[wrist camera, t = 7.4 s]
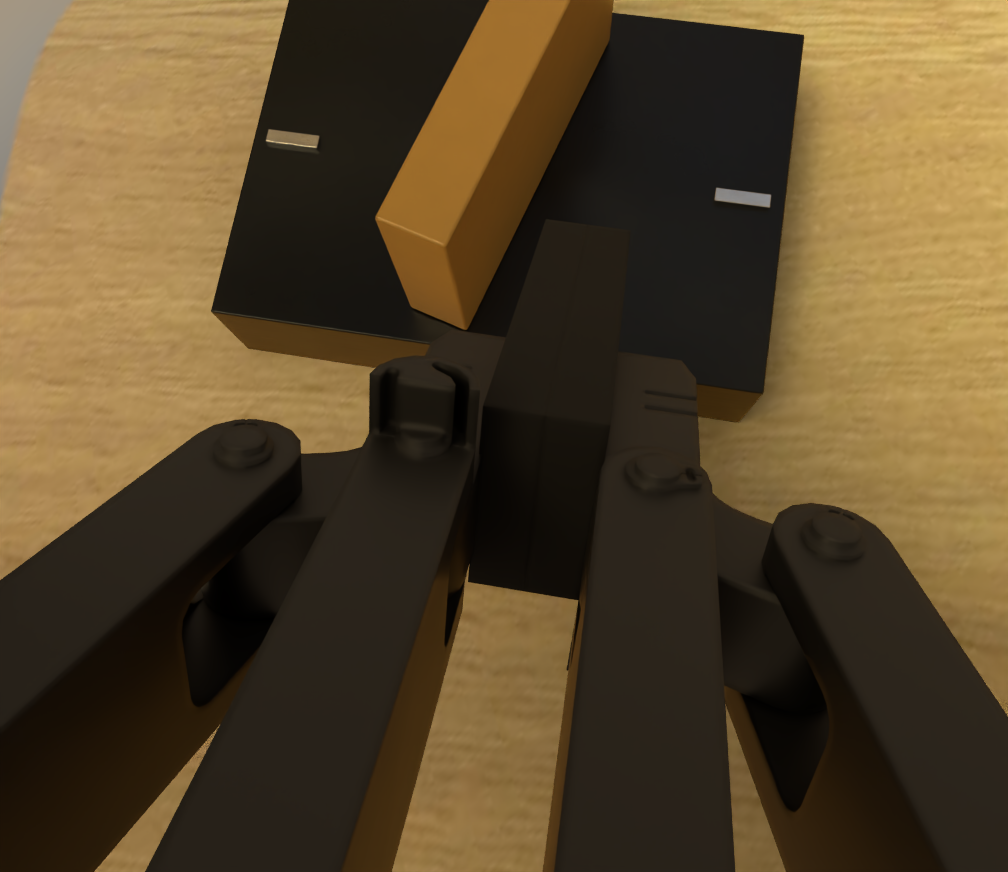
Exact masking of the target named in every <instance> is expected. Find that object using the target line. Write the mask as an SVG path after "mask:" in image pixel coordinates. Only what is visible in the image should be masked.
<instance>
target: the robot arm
mask: <svg viewBox="0 0 1008 872" xmlns="http://www.w3.org/2000/svg"><path fill="white" fill-rule="evenodd" d="M630 234H631V230H624V229H617V228H609V227H602V226H594V225H587V224H579V223H572V222H564V221H557V220H549V219H546V220H545V223H544V226H543V229H542V232H541V235H540V238H539V241H538V244H537V247H536V250H535V253H534V256H533V259H532V262H531V265H530V268H529V271H528V274H527V277H526V280H525V283H524V286H523V288H522V291H521V294H520V297H519V300H518V303H517V306H516V309H515V312H514V315H513V318H512V321H511V324H510V327H509V330H508V333H507V336H506V337H500V336H493V335H486V334H479V333H472V332H465V331H458V330H450V331H449V332H447V333H446V334H444V335H442V336H441V337H439V338H438V339H436V340H435V341H433V342H431V344H430V346H429V348H428V350H427V352H426V354H425V356H417V355H415V356H408V357H401V358H395V359H392V360H390V361H387V362H385V363H382V364H380V365H379V366H378V367H377V368H376V369H374V370H373V371H372V372H371V373H370V406H369V435H368V436H367V438H366V440H365V442H364V444H363V446H362V447H360V448H356V449H353V450H349V451H342V452H332V453H311V454H301V446H300V440H299V439H298V438H297V436H296V435H295V434H294V433H293V431H292V430H290V429H288V428H286V427H284V426H281V425H279V424H277V423H274V422H268V421H263V420H257V419H248V420H245V419H241V420H233V421H229V422H225V423H221V424H217V425H213V426H211V427H209V428H208V429H206V430H204V431H202V432H200V433H198V434H196V435H195V436H194V437H192V438H191V439H190V440H188V441H187V442H186V443H184V444H183V445H182V446H180V447H179V448H178V449H176V450H175V451H174V452H172V453H171V454H170V455H168V456H167V457H166V458H164V459H163V460H161V461H160V462H159V463H157V464H156V465H155V466H153V467H152V468H151V469H149V470H148V471H147V472H145V473H144V474H143V475H141V476H140V477H139V478H137V479H136V480H135V481H133V482H132V483H131V484H129V485H128V486H127V487H125V488H124V489H122V490H121V491H120V492H118V493H117V494H116V495H114V496H113V497H112V498H110V499H109V500H108V501H106V502H105V503H104V504H102V505H101V506H100V507H98V508H97V509H96V510H94V511H93V512H92V513H90V514H89V515H88V516H86V517H85V518H83V519H82V520H81V521H79V522H78V523H77V524H75V525H74V526H73V527H71V528H70V529H69V530H67V531H66V532H65V533H63V534H62V535H61V536H59V537H58V538H57V539H55V540H54V541H53V542H51V543H50V544H49V545H47V546H46V547H45V548H43V549H42V550H40V551H39V552H38V553H36V554H35V555H34V556H32V557H31V558H30V559H28V560H27V561H26V562H24V563H23V564H22V565H20V566H19V567H18V568H16V569H15V570H14V571H12V572H11V573H10V574H8V575H7V576H6V577H4V578H3V579H1V580H0V872H94V871H95V870H96V869H97V867H98V866H99V865H100V864H101V863H102V862H103V860H104V859H105V858H106V857H107V856H108V855H109V853H110V852H111V851H112V850H113V849H114V848H115V846H116V845H117V844H118V843H119V842H120V841H121V839H122V838H123V837H124V836H125V835H126V834H127V832H128V831H129V830H130V829H131V828H132V827H133V825H134V824H135V823H136V822H137V821H138V820H139V818H140V817H141V816H142V815H143V814H144V813H145V811H146V810H147V809H148V808H149V807H150V806H151V804H152V803H153V802H154V801H155V800H156V799H157V797H158V796H159V795H160V794H161V793H162V792H163V790H164V789H165V788H166V787H167V786H168V785H169V783H170V782H171V781H172V780H173V779H174V778H175V776H176V775H177V774H178V773H179V772H180V771H181V769H182V768H183V767H184V766H185V765H186V764H187V762H188V761H189V760H190V759H191V758H192V757H193V755H194V754H195V753H196V752H197V751H198V750H199V748H200V747H201V746H202V745H203V744H204V743H205V741H206V740H207V739H208V738H209V737H210V736H211V734H212V733H213V732H214V731H215V730H216V729H217V727H218V726H219V725H220V726H219V728H218V730H217V732H216V734H215V736H214V738H213V740H212V742H211V744H210V746H209V748H208V750H207V752H206V754H205V756H204V758H203V760H202V762H201V763H200V765H199V767H198V769H197V771H196V773H195V775H194V777H193V779H192V781H191V783H190V785H189V787H188V789H187V791H186V793H185V795H184V797H183V799H182V801H181V803H180V805H179V807H178V809H177V810H176V812H175V814H174V816H173V818H172V820H171V822H170V824H169V826H168V828H167V830H166V832H165V834H164V836H163V838H162V840H161V842H160V844H159V846H158V848H157V850H156V852H155V854H154V856H153V857H152V859H151V861H150V863H149V865H148V867H147V869H146V871H145V872H392V869H393V865H394V861H395V857H396V854H397V850H398V846H399V843H400V839H401V835H402V831H403V828H404V824H405V820H406V817H407V813H408V809H409V805H410V802H411V798H412V794H413V791H414V787H415V783H416V780H417V776H418V772H419V768H420V765H421V761H422V757H423V754H424V750H425V746H426V742H427V739H428V735H429V731H430V728H431V724H432V720H433V716H434V713H435V709H436V705H437V702H438V698H439V694H440V691H441V687H442V683H443V679H444V676H445V672H446V668H447V665H448V661H449V657H450V653H451V650H452V646H453V642H454V639H455V635H456V631H457V627H458V624H459V620H460V616H461V613H462V608H463V596H464V583H465V577H466V574H467V570H468V567H469V577H468V582H472V583H478V584H484V585H490V586H496V587H502V588H508V589H514V590H520V591H526V592H532V593H538V594H544V595H550V596H556V597H562V598H568V599H574V600H579V601H578V607H577V613H576V619H575V624H574V630H573V636H572V642H571V648H570V653H569V659H568V665H567V670H568V678H567V686H566V694H565V701H564V709H563V717H562V725H561V733H560V740H559V748H558V756H557V764H556V772H555V779H554V787H553V795H552V803H551V811H550V818H549V826H548V834H547V842H546V850H545V857H544V865H543V872H735V859H734V842H733V826H732V809H731V793H730V776H729V760H728V743H727V726H726V710H725V703H726V706H727V709H728V712H729V714H730V717H731V720H732V723H733V725H734V728H735V731H736V734H737V736H738V739H739V742H740V745H741V748H742V750H743V753H744V756H745V759H746V761H747V764H748V767H749V770H750V772H751V775H752V778H753V781H754V784H755V786H756V789H757V792H758V795H759V797H760V800H761V803H762V806H763V808H764V811H765V814H766V817H767V820H768V822H769V825H770V828H771V831H772V833H773V836H774V839H775V842H776V844H777V847H778V850H779V853H780V856H781V858H782V861H783V864H784V867H785V869H786V872H1008V716H1007V715H1006V713H1005V712H1004V710H1003V709H1002V707H1001V706H1000V704H999V703H998V701H997V700H996V698H995V697H994V695H993V694H992V692H991V691H990V689H989V688H988V686H987V685H986V683H985V682H984V680H983V679H982V677H981V676H980V674H979V673H978V671H977V670H976V668H975V667H974V665H973V664H972V662H971V661H970V659H969V658H968V657H967V655H966V654H965V652H964V651H963V649H962V648H961V646H960V645H959V643H958V642H957V640H956V639H955V637H954V636H953V634H952V633H951V631H950V630H949V628H948V627H947V625H946V624H945V622H944V621H943V619H942V618H941V616H940V615H939V613H938V612H937V610H936V609H935V607H934V606H933V604H932V603H931V601H930V600H929V598H928V597H927V595H926V594H925V593H924V591H923V590H922V588H921V587H920V585H919V584H918V582H917V581H916V579H915V578H914V576H913V575H912V573H911V572H910V570H909V569H908V567H907V566H906V564H905V563H904V561H903V560H902V558H901V557H900V555H899V554H898V552H897V551H896V549H895V548H894V546H893V545H892V543H891V542H890V540H889V539H888V538H887V537H886V536H885V535H884V534H883V533H882V532H881V531H880V530H879V529H878V528H877V527H876V526H875V525H874V524H872V523H870V522H869V521H867V520H865V519H864V518H862V517H860V516H859V515H857V514H855V513H853V512H850V511H848V510H844V509H842V508H839V507H835V506H830V505H822V504H815V503H808V504H800V505H792V506H790V507H788V508H787V509H785V510H783V511H781V512H779V513H778V515H777V517H776V519H775V521H774V523H773V524H771V523H768V522H765V521H762V520H760V519H757V518H754V517H751V516H749V515H747V514H744V513H742V512H740V511H738V510H735V509H733V508H732V507H730V506H728V505H727V504H725V503H724V502H722V501H721V500H719V499H718V498H717V497H716V496H715V495H714V494H713V493H712V484H711V482H710V479H709V476H708V474H707V472H706V471H705V470H704V469H703V468H702V467H701V466H700V449H699V429H698V416H697V414H698V408H697V401H696V400H697V388H696V378H695V377H694V376H693V374H692V373H691V372H690V370H689V369H688V368H687V367H686V365H685V364H684V363H683V362H682V360H676V359H669V358H662V357H655V356H648V355H641V354H634V353H627V352H620V351H618V349H619V340H620V330H621V321H622V311H623V301H624V292H625V282H626V272H627V263H628V253H629V244H630ZM469 563H470V565H469Z"/></svg>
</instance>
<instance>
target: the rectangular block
mask: <svg viewBox="0 0 1008 872" xmlns="http://www.w3.org/2000/svg"><path fill="white" fill-rule="evenodd" d="M612 11H613V0H489V1H488V3H487V5H486V7H485V9H484V11H483V13H482V15H481V17H480V18H479V20H478V22H477V24H476V26H475V28H474V30H473V32H472V34H471V36H470V38H469V39H468V41H467V43H466V45H465V47H464V49H463V51H462V53H461V55H460V57H459V58H458V60H457V62H456V64H455V66H454V68H453V70H452V72H451V74H450V76H449V78H448V79H447V81H446V83H445V85H444V87H443V89H442V91H441V93H440V95H439V97H438V99H437V100H436V102H435V104H434V106H433V108H432V110H431V112H430V114H429V116H428V118H427V120H426V121H425V123H424V125H423V127H422V129H421V131H420V133H419V135H418V137H417V139H416V140H415V142H414V144H413V146H412V148H411V150H410V152H409V154H408V156H407V158H406V160H405V161H404V163H403V165H402V167H401V169H400V171H399V173H398V175H397V177H396V179H395V181H394V182H393V184H392V186H391V188H390V190H389V192H388V194H387V196H386V198H385V200H384V201H383V203H382V205H381V207H380V209H379V211H378V213H377V215H376V218H375V220H376V222H377V225H378V227H379V229H380V232H381V234H382V237H383V239H384V242H385V244H386V247H387V249H388V252H389V254H390V256H391V259H392V261H393V264H394V266H395V269H396V271H397V274H398V276H399V279H400V281H401V284H402V286H403V288H404V291H405V293H406V296H407V298H408V301H409V303H410V306H411V307H412V308H414V309H417V310H419V311H421V312H424V313H426V314H428V315H431V316H433V317H435V318H438V319H440V320H443V321H445V322H447V323H450V324H452V325H454V326H457V327H459V328H461V329H464V330H467V329H468V327H469V325H470V323H471V321H472V319H473V317H474V315H475V313H476V311H477V309H478V307H479V305H480V303H481V301H482V299H483V297H484V295H485V293H486V291H487V289H488V287H489V285H490V283H491V281H492V278H493V276H494V274H495V272H496V270H497V268H498V266H499V264H500V262H501V260H502V258H503V256H504V254H505V252H506V250H507V248H508V246H509V244H510V242H511V240H512V238H513V236H514V234H515V232H516V230H517V227H518V225H519V223H520V221H521V219H522V217H523V215H524V213H525V211H526V209H527V207H528V205H529V203H530V201H531V199H532V197H533V195H534V193H535V191H536V189H537V187H538V185H539V183H540V181H541V179H542V177H543V174H544V172H545V170H546V168H547V166H548V164H549V162H550V160H551V158H552V156H553V154H554V152H555V150H556V148H557V146H558V144H559V142H560V140H561V138H562V136H563V134H564V132H565V130H566V128H567V126H568V123H569V121H570V119H571V117H572V115H573V113H574V111H575V109H576V107H577V105H578V103H579V101H580V99H581V97H582V95H583V93H584V91H585V89H586V87H587V85H588V83H589V81H590V79H591V77H592V75H593V73H594V70H595V68H596V66H597V64H598V62H599V60H600V58H601V56H602V54H603V52H604V50H605V48H606V46H607V44H608V42H609V40H610V31H611V21H612Z"/></svg>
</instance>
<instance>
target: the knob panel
mask: <svg viewBox="0 0 1008 872" xmlns="http://www.w3.org/2000/svg"><path fill="white" fill-rule="evenodd" d="M488 1H489V0H289V3H288V7H287V11H286V15H285V19H284V22H283V26H282V30H281V34H280V38H279V42H278V46H277V50H276V54H275V58H274V62H273V66H272V70H271V74H270V78H269V82H268V86H267V90H266V94H265V98H264V102H263V106H262V110H261V114H260V118H259V122H258V126H257V130H256V134H255V138H254V142H253V146H252V150H251V154H250V158H249V162H248V166H247V170H246V174H245V178H244V182H243V186H242V190H241V194H240V198H239V202H238V206H237V210H236V214H235V218H234V222H233V226H232V230H231V234H230V238H229V242H228V246H227V250H226V254H225V258H224V262H223V266H222V270H221V274H220V278H219V282H218V286H217V290H216V294H215V298H214V302H213V306H212V310H211V312H212V313H213V314H214V315H215V316H216V317H217V318H218V319H219V320H220V321H221V322H222V323H223V324H224V325H225V326H226V327H227V328H228V329H229V330H230V331H231V332H232V333H233V334H234V335H235V336H236V337H237V338H238V339H239V340H240V341H241V342H242V343H243V344H244V345H245V346H246V347H247V348H249V349H256V350H262V351H269V352H276V353H282V354H289V355H295V356H302V357H309V358H315V359H322V360H329V361H335V362H342V363H348V364H355V365H362V366H368V367H375V368H377V367H378V366H379V365H380V364H382V363H385V362H387V361H390V360H392V359H395V358H401V357H408V356H415V355H417V356H425V354H426V352H427V350H428V348H429V346H430V344H431V342H433V341H435V340H436V339H438V338H439V337H441V336H442V335H444V334H446V333H447V332H449V331H450V330H458V331H465V332H472V333H479V334H486V335H493V336H500V337H506V336H507V333H508V330H509V327H510V324H511V321H512V318H513V315H514V312H515V309H516V306H517V303H518V300H519V297H520V294H521V291H522V288H523V286H524V283H525V280H526V277H527V274H528V271H529V268H530V265H531V262H532V259H533V256H534V253H535V250H536V247H537V244H538V241H539V238H540V235H541V232H542V229H543V226H544V223H545V220H546V219H549V220H557V221H564V222H572V223H579V224H587V225H594V226H602V227H609V228H617V229H624V230H631V234H630V244H629V253H628V263H627V272H626V282H625V292H624V301H623V311H622V321H621V330H620V340H619V349H618V351H620V352H627V353H634V354H641V355H648V356H655V357H662V358H669V359H676V360H682V362H683V363H684V364H685V365H686V367H687V368H688V369H689V370H690V372H691V373H692V374H693V376H694V377H695V378H696V388H697V400H696V401H697V408H698V414H697V416H699V417H705V418H712V419H719V420H725V421H732V422H740V420H741V419H742V418H743V417H744V416H745V414H746V413H747V412H748V411H749V410H750V408H751V407H752V406H753V405H754V404H755V403H756V401H757V400H758V399H759V398H760V397H761V395H762V394H763V393H764V384H765V375H766V367H767V358H768V349H769V340H770V332H771V323H772V314H773V305H774V297H775V288H776V279H777V270H778V262H779V253H780V244H781V235H782V227H783V218H784V209H785V200H786V192H787V183H788V174H789V165H790V157H791V148H792V139H793V130H794V122H795V113H796V104H797V95H798V87H799V78H800V69H801V60H802V52H803V43H804V35H800V34H791V33H783V32H774V31H765V30H757V29H748V28H740V27H731V26H722V25H714V24H705V23H696V22H688V21H679V20H671V19H662V18H653V17H645V16H636V15H627V14H619V13H612V21H611V31H610V40H609V42H608V44H607V46H606V48H605V50H604V52H603V54H602V56H601V58H600V60H599V62H598V64H597V66H596V68H595V70H594V73H593V75H592V77H591V79H590V81H589V83H588V85H587V87H586V89H585V91H584V93H583V95H582V97H581V99H580V101H579V103H578V105H577V107H576V109H575V111H574V113H573V115H572V117H571V119H570V121H569V123H568V126H567V128H566V130H565V132H564V134H563V136H562V138H561V140H560V142H559V144H558V146H557V148H556V150H555V152H554V154H553V156H552V158H551V160H550V162H549V164H548V166H547V168H546V170H545V172H544V174H543V177H542V179H541V181H540V183H539V185H538V187H537V189H536V191H535V193H534V195H533V197H532V199H531V201H530V203H529V205H528V207H527V209H526V211H525V213H524V215H523V217H522V219H521V221H520V223H519V225H518V227H517V230H516V232H515V234H514V236H513V238H512V240H511V242H510V244H509V246H508V248H507V250H506V252H505V254H504V256H503V258H502V260H501V262H500V264H499V266H498V268H497V270H496V272H495V274H494V276H493V278H492V281H491V283H490V285H489V287H488V289H487V291H486V293H485V295H484V297H483V299H482V301H481V303H480V305H479V307H478V309H477V311H476V313H475V315H474V317H473V319H472V321H471V323H470V325H469V327H468V329H467V330H464V329H461V328H459V327H457V326H454V325H452V324H450V323H447V322H445V321H443V320H440V319H438V318H435V317H433V316H431V315H428V314H426V313H424V312H421V311H419V310H417V309H414V308H412V307H411V306H410V303H409V301H408V298H407V296H406V293H405V291H404V288H403V286H402V284H401V281H400V279H399V276H398V274H397V271H396V269H395V266H394V264H393V261H392V259H391V256H390V254H389V252H388V249H387V247H386V244H385V242H384V239H383V237H382V234H381V232H380V229H379V227H378V225H377V222H376V220H375V218H376V215H377V213H378V211H379V209H380V207H381V205H382V203H383V201H384V200H385V198H386V196H387V194H388V192H389V190H390V188H391V186H392V184H393V182H394V181H395V179H396V177H397V175H398V173H399V171H400V169H401V167H402V165H403V163H404V161H405V160H406V158H407V156H408V154H409V152H410V150H411V148H412V146H413V144H414V142H415V140H416V139H417V137H418V135H419V133H420V131H421V129H422V127H423V125H424V123H425V121H426V120H427V118H428V116H429V114H430V112H431V110H432V108H433V106H434V104H435V102H436V100H437V99H438V97H439V95H440V93H441V91H442V89H443V87H444V85H445V83H446V81H447V79H448V78H449V76H450V74H451V72H452V70H453V68H454V66H455V64H456V62H457V60H458V58H459V57H460V55H461V53H462V51H463V49H464V47H465V45H466V43H467V41H468V39H469V38H470V36H471V34H472V32H473V30H474V28H475V26H476V24H477V22H478V20H479V18H480V17H481V15H482V13H483V11H484V9H485V7H486V5H487V3H488Z"/></svg>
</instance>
